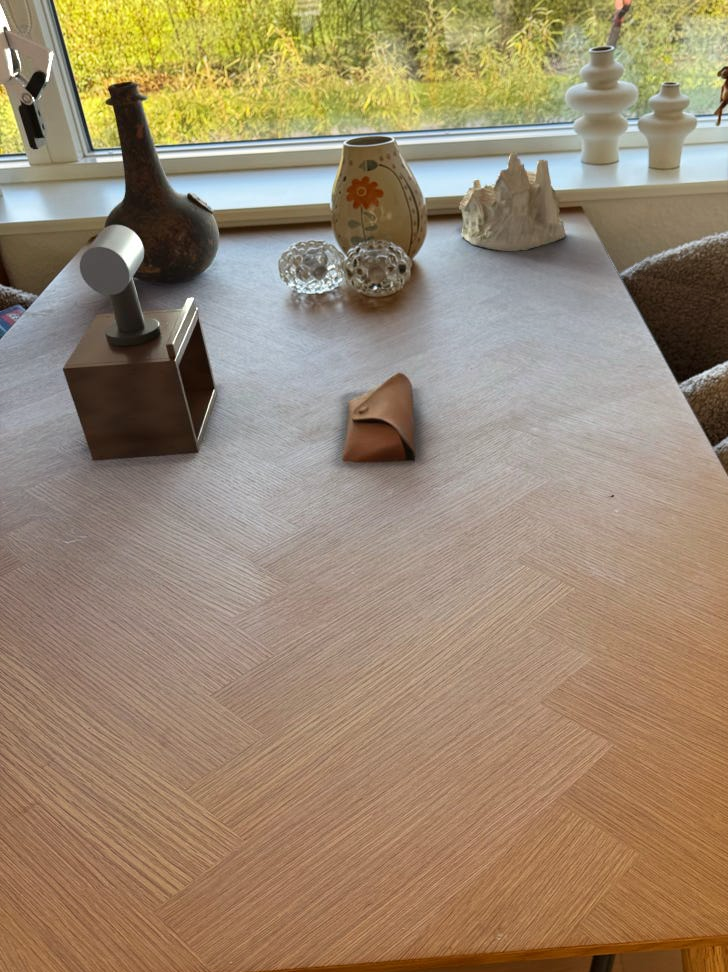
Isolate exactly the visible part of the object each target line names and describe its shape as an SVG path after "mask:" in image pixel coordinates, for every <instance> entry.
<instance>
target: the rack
mask: <svg viewBox="0 0 728 972" xmlns="http://www.w3.org/2000/svg"><path fill="white" fill-rule="evenodd" d="M142 314H143V318H150V319H154V320H156V321H158V323H159V325H160V329H161V334H160V336H159V337H157V338H156V339H154V340H152V341H150V342H147V343H144V344H139V345H134V346H116V345H112V344H110V343H109V342H108V341H107V339H106V335H105V329H106V328H107V327H108V326H110V325H112V324H114V323H116V320H115V317H114V313H103V314H102V313H99V314H97V315H96V316H95V317H94V318H93V321H92V322H91V324H90V325H89V327H88V329H87V330H86V331H85V333H84V335H83V336H82V337H81V339H80V341H79V342H78V343H77V345H76V347H75V349H74V350H73V352H72V353H71V355H70V356H69V358H68V359H67V360H66V363H64V366H63V367H62V371H63V374H64V375H63V376H64V378H65V381H66V383H67V387H68V390H69V393H70V396H71V399H72V403H73V405H74V408H75V411H76V414H77V417H78V420H79V423H80V426H81V429H82V431H83V435H84V438H85V441H86V444H87V447H88V449H89V453H90V456H91V459H92V461H101V460H115V459H125V458H126V459H127V458H128V459H129V458H142V457H155V456H169V455H180V454H181V455H183V454H195V452H196V453H199V451H200V448H201V445H200V444H202V442H203V438H204V434H205V431H206V429H207V427H208V423H209V420H210V416H211V413H212V410H213V407H214V405H215V404H214V403H215V400H216V398H217V395H218V391H217V387H216V382H215V377H214V373H213V369H212V364H211V360H210V356H209V351H208V346H207V343H206V338H205V333H204V329H203V326H202V321H201V316H200V311H199V308H198V307H196V302H195V298H194V297H187V298H186V300H185V302H184V304H183V306H182V308H173V309H162V310H161V309H159V310H145V311H143V310H142ZM208 419H209V420H208ZM199 447H200V448H199Z"/></svg>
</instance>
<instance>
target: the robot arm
mask: <svg viewBox="0 0 728 972" xmlns="http://www.w3.org/2000/svg"><path fill="white" fill-rule="evenodd" d="M19 53H20V54H22V55H24V56H26V57H29V58H31V59H32V60H33V62H34V63H33V64H34V68H33V74H32V75H31V77H30V78H29V79H28V78H27V77H26V76H25V75H24V74H23V73H21V72H22V64H21V60H20V56H19ZM53 57H54V53H53V51H52V50H51V49H50V48H49V47H46V46H44V45H42V44H40V43H38V42H36V41H34V40H31V39H29V38H27V37H26V36H22V35H21V34H19V33H16V32H14V31H12V30H11V29H10V27H9V23H8V20H7V18H6V15H5V13H4V10H3V8H2V6H1V4H0V86H2V85H3V86H4V87H5V88H6V89H8V91H10V92H11V93H12V94H13V95H14V96H15V97H16V98H18V100H19V101H20V105H18V108H17V110H18V112H19V116H20V119H21V122H22V125H23V129H24V132H25V136H26V138H27V141H28V145H29V148H30V149H32V150H39V149H41V148H42V147H43V146H44V145H46V143H47V142H46V139H47V138H48V130H47V126H46V123H45V119H44V116H43V111H42V109H41V106H40V102H39V100H40V99H41V97H42V94H43V92H44V91H45V89H46V88H47V85H48V83H49V81H50V78H51V77H50V74H51V70H52V69H51V68H52V63H53Z"/></svg>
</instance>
